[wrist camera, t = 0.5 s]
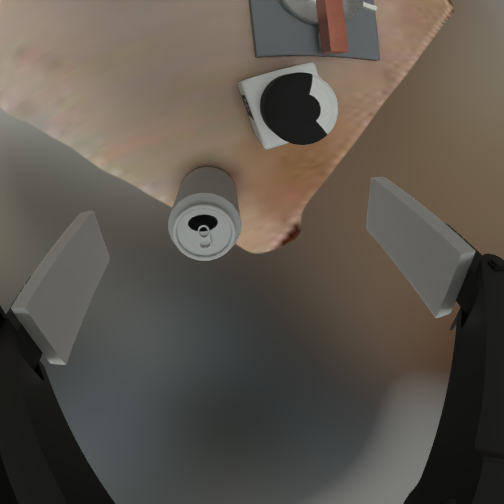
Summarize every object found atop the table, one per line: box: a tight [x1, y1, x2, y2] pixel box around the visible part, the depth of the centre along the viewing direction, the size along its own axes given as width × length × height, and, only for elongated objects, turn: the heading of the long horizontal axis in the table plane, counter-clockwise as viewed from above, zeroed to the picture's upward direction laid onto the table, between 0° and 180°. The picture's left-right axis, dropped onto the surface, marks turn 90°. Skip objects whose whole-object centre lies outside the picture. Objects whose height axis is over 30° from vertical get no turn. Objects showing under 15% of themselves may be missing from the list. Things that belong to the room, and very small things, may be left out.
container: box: [238, 62, 338, 149], centre depth 27 cm, size 8×8×13 cm
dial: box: [279, 0, 361, 54], centre depth 22 cm, size 14×10×5 cm
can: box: [168, 167, 241, 261], centre depth 33 cm, size 8×8×12 cm
